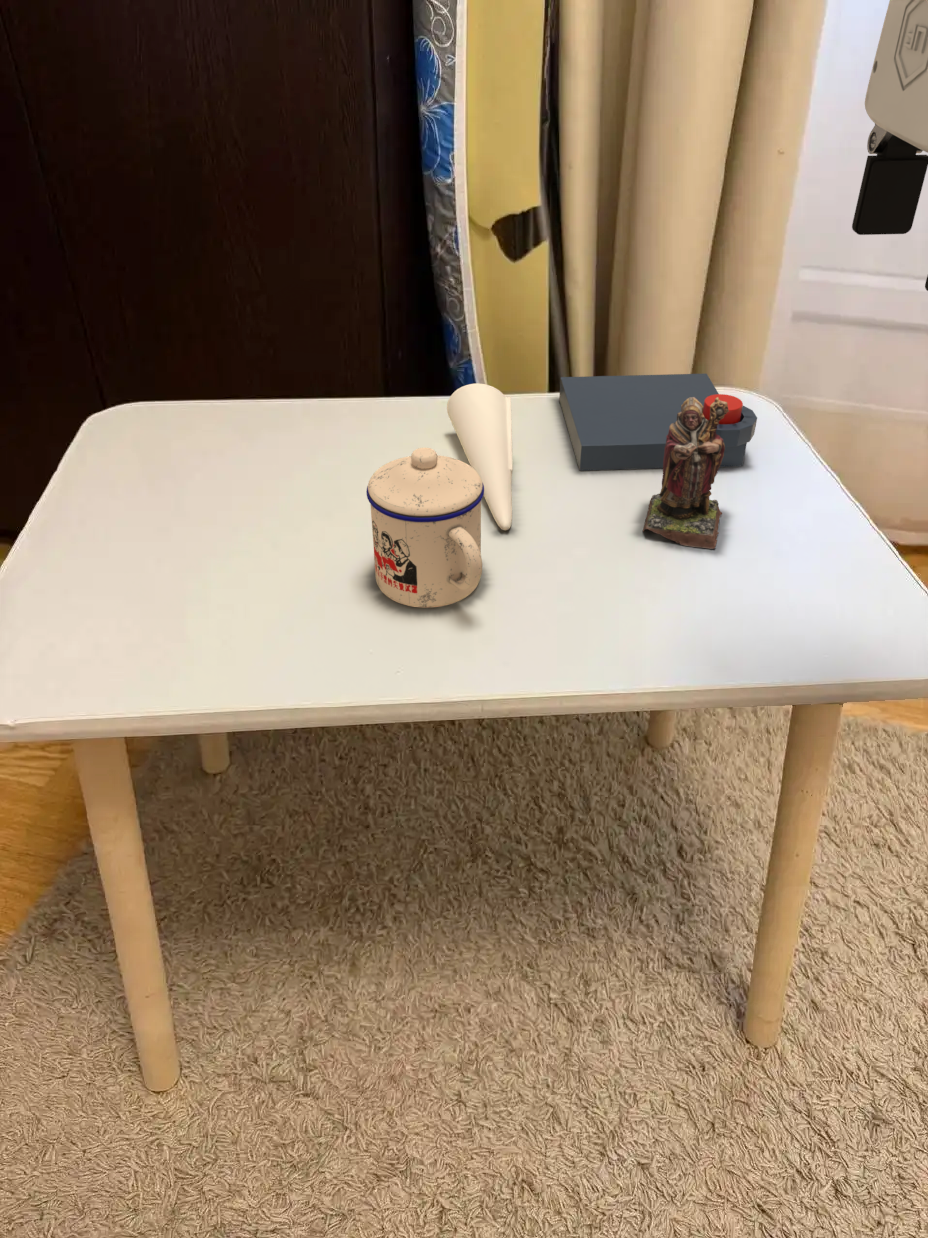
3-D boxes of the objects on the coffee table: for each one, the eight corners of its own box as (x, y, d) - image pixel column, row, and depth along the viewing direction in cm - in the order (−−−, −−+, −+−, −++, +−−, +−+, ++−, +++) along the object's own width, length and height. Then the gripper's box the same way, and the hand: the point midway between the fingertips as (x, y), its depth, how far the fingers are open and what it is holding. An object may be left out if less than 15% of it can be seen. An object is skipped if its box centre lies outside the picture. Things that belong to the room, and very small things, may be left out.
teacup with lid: (353, 569, 83) (342, 443, 76) (446, 537, 87) (444, 415, 80) (426, 645, 75) (421, 512, 68) (525, 606, 78) (530, 477, 71)
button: (734, 409, 97) (737, 393, 96) (744, 426, 94) (747, 409, 93) (698, 410, 97) (700, 394, 96) (707, 427, 94) (709, 410, 93)
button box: (712, 396, 109) (718, 357, 107) (756, 471, 96) (764, 428, 93) (559, 400, 109) (561, 360, 106) (581, 476, 95) (584, 433, 92)
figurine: (649, 503, 91) (663, 380, 84) (722, 512, 90) (742, 388, 82) (640, 539, 86) (654, 412, 79) (716, 549, 85) (737, 421, 78)
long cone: (438, 548, 88) (444, 429, 102) (509, 554, 89) (506, 434, 103) (443, 496, 84) (449, 380, 98) (518, 503, 85) (513, 386, 99)
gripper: (862, -153, 48) (793, 215, 58) (1046, -160, 34) (913, 323, 45) (1014, -154, 48) (918, 212, 59) (1256, -162, 34) (1075, 319, 45)
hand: (916, 260), depth 52 cm, fingers open, 9 cm apart
